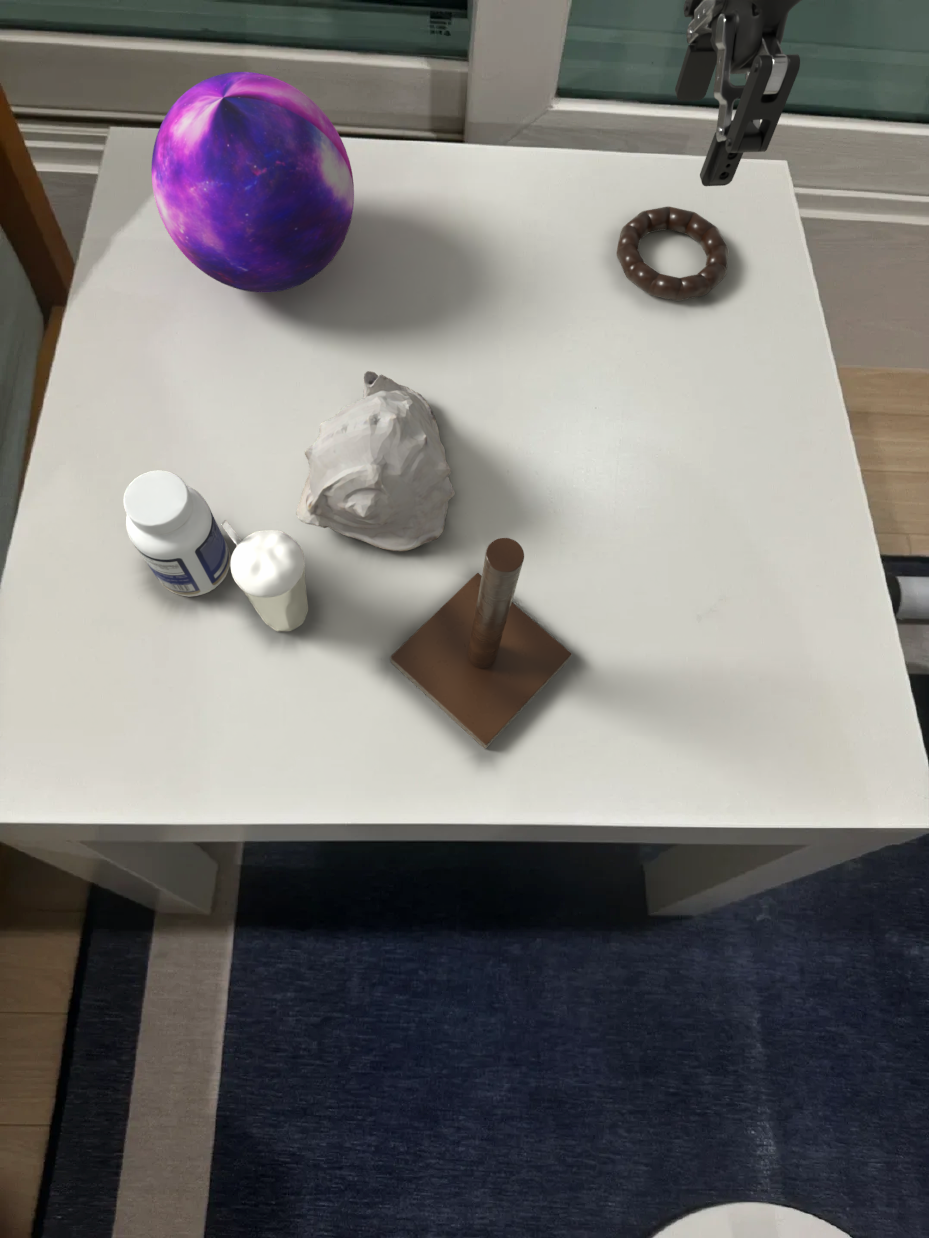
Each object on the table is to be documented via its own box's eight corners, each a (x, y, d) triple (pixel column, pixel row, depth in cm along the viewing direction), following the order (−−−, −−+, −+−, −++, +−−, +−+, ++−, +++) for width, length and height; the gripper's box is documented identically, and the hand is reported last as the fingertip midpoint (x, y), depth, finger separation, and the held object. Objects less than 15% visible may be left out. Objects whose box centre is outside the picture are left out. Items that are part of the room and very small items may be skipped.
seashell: (422, 388, 69) (424, 300, 59) (473, 538, 64) (483, 467, 55) (272, 421, 67) (249, 334, 57) (312, 577, 62) (295, 511, 53)
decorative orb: (181, 198, 74) (129, 23, 61) (354, 193, 76) (341, 22, 62) (178, 336, 69) (119, 180, 55) (364, 329, 70) (352, 174, 56)
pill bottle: (210, 518, 63) (176, 445, 54) (244, 575, 62) (216, 509, 53) (142, 553, 62) (96, 484, 53) (176, 611, 60) (134, 550, 51)
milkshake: (272, 564, 62) (247, 495, 53) (330, 605, 61) (315, 542, 52) (230, 610, 61) (197, 548, 51) (289, 653, 60) (266, 597, 50)
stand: (476, 578, 63) (498, 449, 47) (569, 659, 61) (625, 553, 45) (390, 662, 60) (382, 555, 44) (484, 749, 58) (512, 670, 42)
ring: (660, 202, 77) (665, 186, 76) (745, 261, 75) (752, 246, 74) (593, 259, 75) (597, 243, 73) (680, 322, 72) (686, 307, 71)
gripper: (897, -42, 44) (774, 211, 60) (824, -200, 50) (728, 69, 65) (759, -40, 44) (670, 215, 59) (699, -201, 49) (632, 71, 64)
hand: (700, 138), depth 62 cm, fingers open, 8 cm apart
